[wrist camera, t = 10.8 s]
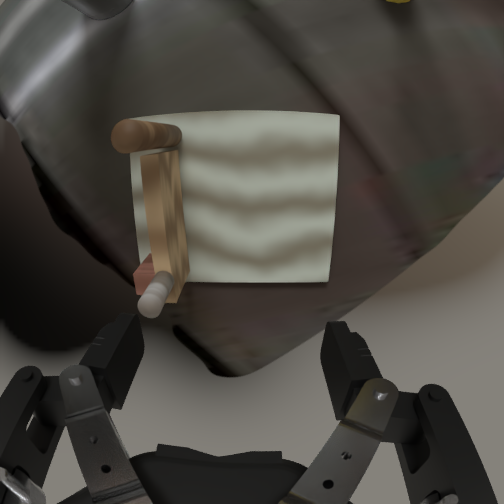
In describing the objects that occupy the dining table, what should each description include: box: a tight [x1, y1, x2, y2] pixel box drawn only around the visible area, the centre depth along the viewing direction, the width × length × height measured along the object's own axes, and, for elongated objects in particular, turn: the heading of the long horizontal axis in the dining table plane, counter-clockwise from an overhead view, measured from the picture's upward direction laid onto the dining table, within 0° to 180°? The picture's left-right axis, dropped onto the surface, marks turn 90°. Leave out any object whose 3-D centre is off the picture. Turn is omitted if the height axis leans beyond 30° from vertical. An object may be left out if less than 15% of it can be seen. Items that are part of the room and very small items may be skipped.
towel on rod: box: [111, 111, 340, 295], centre depth 33 cm, size 24×28×16 cm
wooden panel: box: [138, 150, 190, 318], centre depth 32 cm, size 17×2×15 cm, turn 2°
